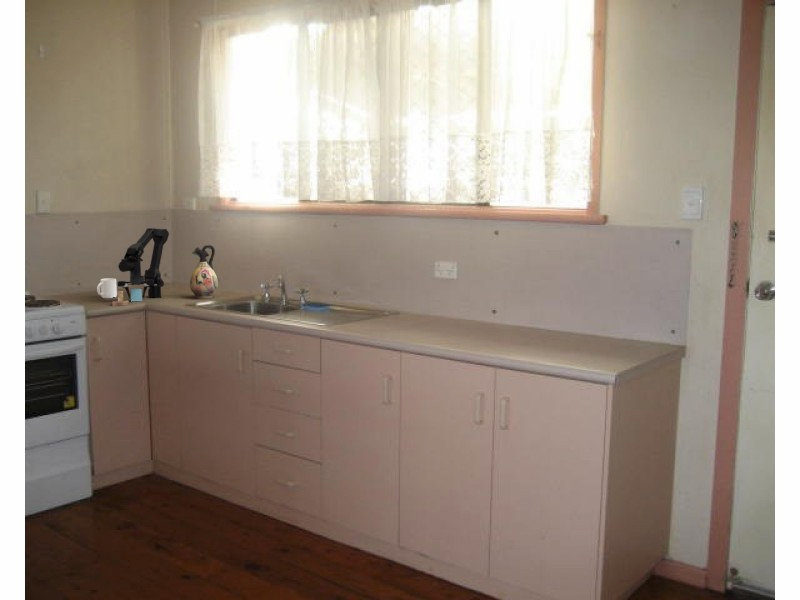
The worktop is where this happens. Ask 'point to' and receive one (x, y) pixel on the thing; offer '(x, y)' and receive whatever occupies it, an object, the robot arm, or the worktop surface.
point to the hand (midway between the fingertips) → (136, 298)
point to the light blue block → (136, 294)
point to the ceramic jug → (204, 275)
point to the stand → (120, 300)
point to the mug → (107, 288)
